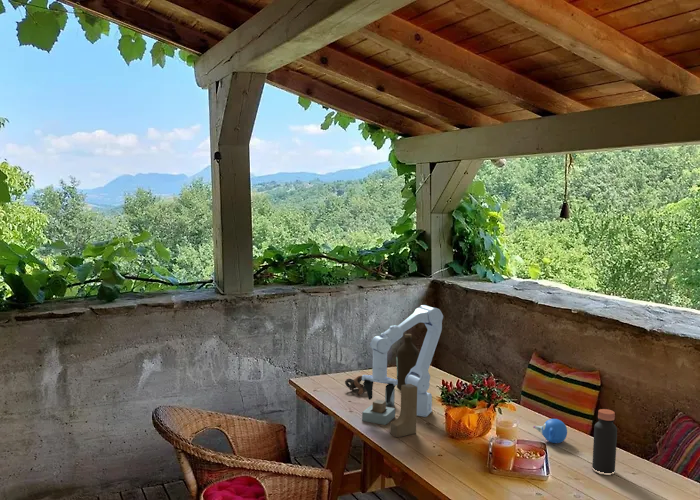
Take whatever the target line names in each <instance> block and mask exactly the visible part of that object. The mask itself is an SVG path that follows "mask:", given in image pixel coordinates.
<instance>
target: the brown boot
mask: <svg viewBox="0 0 700 500" xmlns="http://www.w3.org/2000/svg"><path fill="white" fill-rule="evenodd" d="M417 417H418V416H417V386H415V385H412V384H405V385H401V389H400V412H399V416H397V418H396V419H395V420H393V421H390V422H389V423H390V425H389V426H390V427H389V432H390V433H389V434H391V435H392V436H393V437H394V438H401V437H405V436H410V435H414V434H416V433H417Z"/></svg>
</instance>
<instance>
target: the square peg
mask: <svg viewBox="0 0 700 500" xmlns="http://www.w3.org/2000/svg"><path fill="white" fill-rule="evenodd" d="M372 404H373V411H372V412H377V413H384V412H385V411H386V407H387V406H386V401H385V400H383V399H375V400H374V401H372Z"/></svg>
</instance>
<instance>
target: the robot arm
mask: <svg viewBox="0 0 700 500" xmlns="http://www.w3.org/2000/svg"><path fill="white" fill-rule="evenodd" d="M443 319H444V315H443V313H442V310H441V309H439V308H437V307H432V306H429V305H427V304H421V305H420V306H418V307H417V308H415V310H414V311H413V313H412V314H410V315H409V316H408V317H407V318H406V319H404V320H403V321H402V322H401V323H399V324H394V325H389V328H388V329H386V330H385V331H383V332H381V333H380V335H376V336H374V337H372V339H371V341H370V343H369V347H370V349H371V350H372V369H371V370H372V373H371V374H362V375H361V376H362V380H361V382H363V383H362V385H364V387H365V389H366V391H367V392H366V394H367V399H368V400H369V401H370V400H372V399H373V387H374V383H379V384H386V385H385V389H386V394H387V396H386V402H387V403H388V402H390V398H391V395H392V392H393V390H394V389H395V387H397V384H398V380H397V378H396V379H395V378H391V377H388V352H389V351H390V349H391V346H392V345H393V344H395V343H396V342H397V341H399V340H400V339H401V338H403V336H404V333H405V332H406V331H408V330H409V329H411V328H412V327H414V326H416V325H417V324H419V323H423V324H424V325H425V328H426V329H427V331H426V333H425V337H424V339H423V343H422V346H421V348H420V351H419V357H418V360H417V363H416V365H415V366H414V367H413V368H411V369H410V372H409V374H408V375H407V376H406V378H405V383H406V384H412V385H415V386H417V417H423V418H427V417H428V416H429V415H430V414H431V413H432V412H433V409H432V407H433V403H432V401H433V396H432V393H431V392H428V390H429V388H430V380H431V374H430V372H429V370H430V366H431V363H432V361H433V357H434V354H435V351H436V348H437V345H438V342H439V340H440V336H441V333H442V330H443V324H442V323H443Z"/></svg>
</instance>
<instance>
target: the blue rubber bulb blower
mask: <svg viewBox="0 0 700 500" xmlns="http://www.w3.org/2000/svg"><path fill="white" fill-rule="evenodd" d="M532 427H533V429H535V430H537V431H538V432H539V433H541V436H543V437H544V438H545V440H547V442H549V443H552V444H561V443H562V442H564V441H565V440H566V438H567V435H568V428H567V426H566V424H565V423H564V422H563V421H562V420H560V419H558V418H549V419H547V420H546V421H545V422H544V424H543V425H533V426H532Z"/></svg>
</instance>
